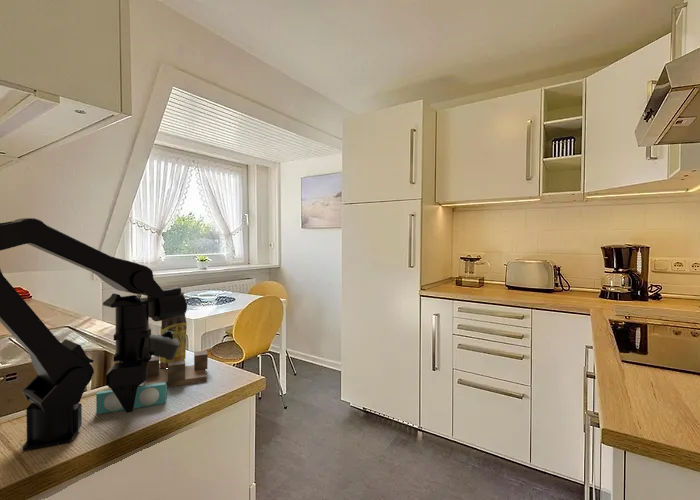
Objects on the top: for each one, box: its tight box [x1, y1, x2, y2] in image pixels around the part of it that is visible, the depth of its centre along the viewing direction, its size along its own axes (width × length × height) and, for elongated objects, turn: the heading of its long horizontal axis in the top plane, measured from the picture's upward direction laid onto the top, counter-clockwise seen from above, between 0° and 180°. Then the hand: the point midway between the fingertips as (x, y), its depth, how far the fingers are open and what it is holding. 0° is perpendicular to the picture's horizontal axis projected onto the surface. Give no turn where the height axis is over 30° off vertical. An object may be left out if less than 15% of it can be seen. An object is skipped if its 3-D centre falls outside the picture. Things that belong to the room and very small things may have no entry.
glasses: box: [95, 382, 168, 415], centre depth 75 cm, size 12×8×4 cm, turn 116°
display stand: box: [144, 350, 209, 388], centre depth 87 cm, size 14×9×5 cm, turn 116°
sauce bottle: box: [159, 291, 188, 369], centre depth 95 cm, size 7×6×20 cm
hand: (132, 401), depth 72 cm, fingers open, 9 cm apart
